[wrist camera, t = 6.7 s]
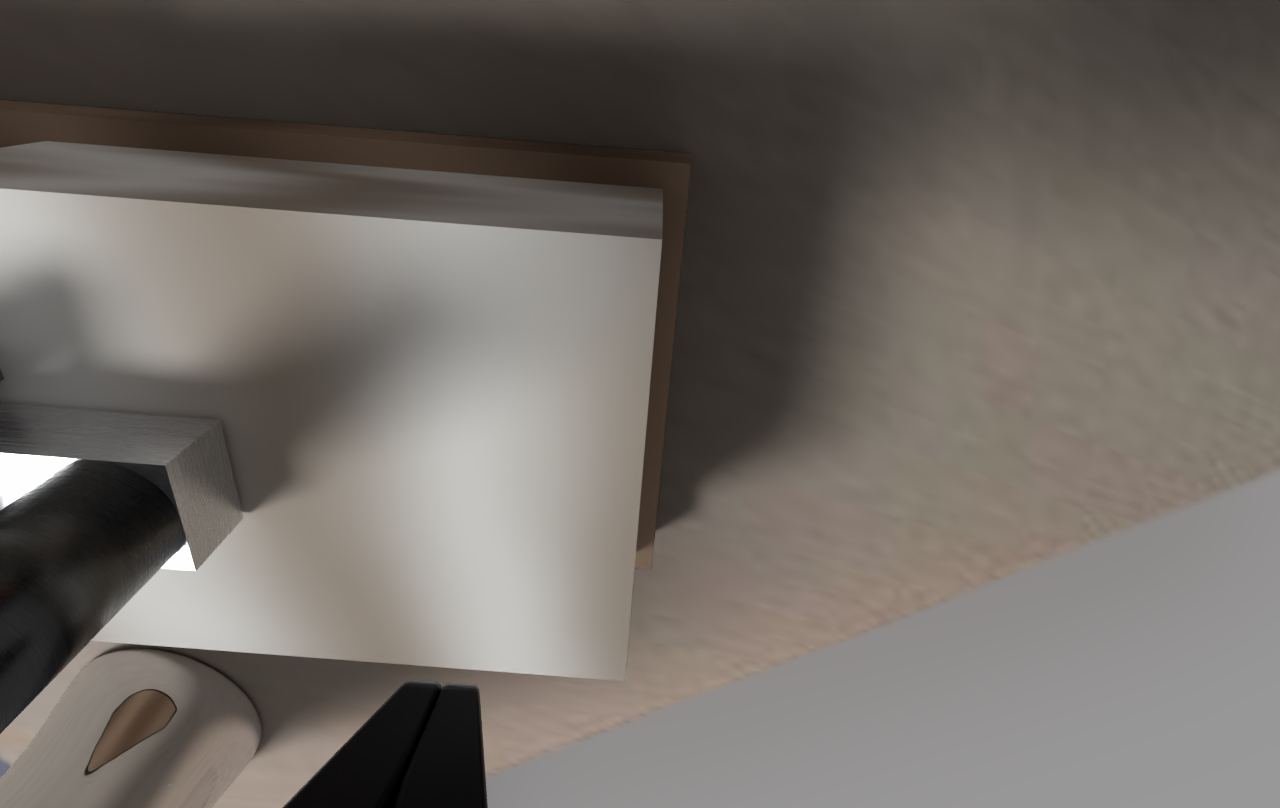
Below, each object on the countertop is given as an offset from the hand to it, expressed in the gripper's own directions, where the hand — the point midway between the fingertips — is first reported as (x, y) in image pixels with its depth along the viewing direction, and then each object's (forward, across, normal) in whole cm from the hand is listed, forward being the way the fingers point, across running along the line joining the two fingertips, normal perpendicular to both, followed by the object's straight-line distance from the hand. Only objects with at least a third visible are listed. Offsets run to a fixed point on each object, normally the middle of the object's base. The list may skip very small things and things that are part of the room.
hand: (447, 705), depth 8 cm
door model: (+10, +8, 0) cm, 13 cm away
